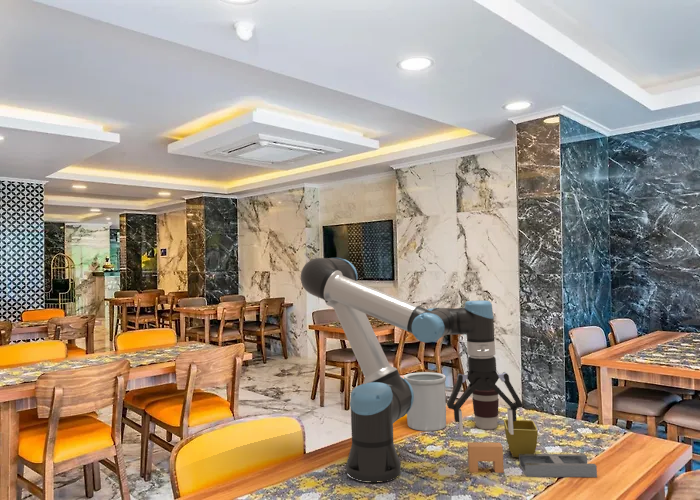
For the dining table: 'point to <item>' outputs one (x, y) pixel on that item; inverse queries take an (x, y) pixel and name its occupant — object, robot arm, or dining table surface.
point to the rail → (556, 465)
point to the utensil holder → (427, 401)
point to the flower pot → (522, 437)
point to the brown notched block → (485, 455)
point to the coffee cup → (485, 408)
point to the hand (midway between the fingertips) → (485, 433)
